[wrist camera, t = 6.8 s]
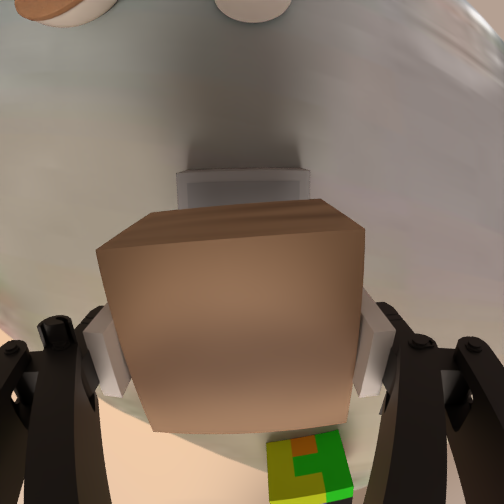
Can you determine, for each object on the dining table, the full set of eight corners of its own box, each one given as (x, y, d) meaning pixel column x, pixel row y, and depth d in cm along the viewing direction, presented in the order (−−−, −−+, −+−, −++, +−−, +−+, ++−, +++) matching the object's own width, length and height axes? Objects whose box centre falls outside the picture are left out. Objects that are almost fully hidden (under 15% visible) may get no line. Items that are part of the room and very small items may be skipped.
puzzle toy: (276, 475, 40) (280, 526, 31) (266, 442, 37) (269, 501, 28) (338, 464, 40) (350, 513, 30) (338, 429, 37) (353, 486, 27)
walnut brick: (151, 212, 14) (95, 250, 9) (320, 198, 14) (365, 229, 9) (177, 353, 17) (153, 431, 11) (320, 344, 17) (346, 422, 11)
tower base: (186, 170, 27) (176, 173, 23) (301, 168, 27) (310, 170, 23) (193, 277, 30) (185, 295, 26) (299, 275, 30) (306, 294, 26)
